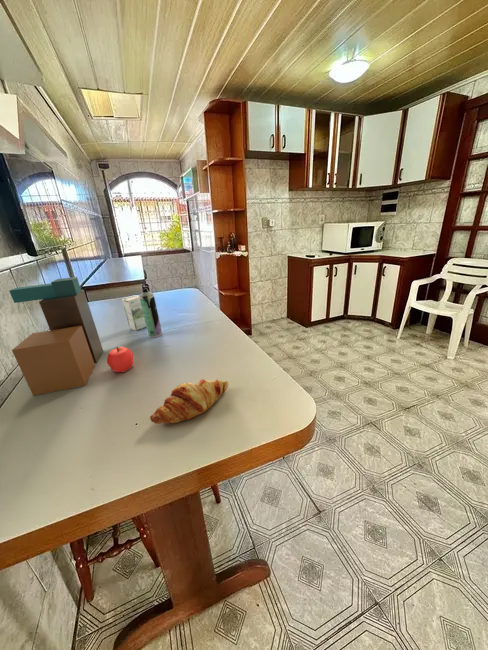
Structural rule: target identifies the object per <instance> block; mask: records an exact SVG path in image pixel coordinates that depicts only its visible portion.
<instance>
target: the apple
mask: <svg viewBox="0 0 488 650" xmlns="http://www.w3.org/2000/svg"><path fill="white" fill-rule="evenodd" d="M134 359H135V358H134V353H133V351H132V350H131V349H130V348H128V347H125V346H120V347H118V346H116V348H113V349H111V350H110V351H109V352H108V354H107V357H106V364H107V365H108V366H109V368H110V369H111V371H113V372H115V373H126V372H127V371H129V370H130V369H131V368H133V366H134V364H135V361H134Z"/></svg>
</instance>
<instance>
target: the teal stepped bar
mask: <svg viewBox="0 0 488 650" xmlns="http://www.w3.org/2000/svg"><path fill="white" fill-rule="evenodd" d="M81 290H82V288H81V285H80V282H79V279H78V277H77V276H72V277H71V276H70V277H64V278H63V277H62V278H57V279H54V280H53V281H51V282H49V283H43V284H41V283H40V284H35V285H26V286H25V285H24V286H19V287H14V288H12V289H9V290H8V292H9V294H10V296H11V299H12V301H13V303H14V304H18V303H25V302H33V301H41V300H43V299H48V298H55V297H56V298H58V297H65V296H73V295H77V294H79V293H80V292H81Z"/></svg>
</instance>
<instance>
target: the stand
mask: <svg viewBox="0 0 488 650" xmlns="http://www.w3.org/2000/svg"><path fill="white" fill-rule="evenodd" d="M38 304H39V305H40V308H41V311H42V314H43V317H44V318H45V321H46V323H47V326H48V329H49V331H51V330H57V329H63V328H70V327H76V326H82V329H83V331H84V334H85V337H86V340H87V343H88V346H89V349H90V352H91V355H92V358H93V361H94V364H95V365H96V364H97V363H98V362H99V360H100V358H101V356H102V354H103V352H104V348H103V346H102V345H103V344H102V343H101V339H100V336H99V333H98V330H97V327H96V326H97V325H96V324H95V319H94V317H93V315H92V314H93V313H92V311H91V308H90V304H89V301H88V299H87V294H86V292H85V289H81V292H80V293H79V294H77V295H73V296H65V297H58V298H56V297H55V298H48V299H41V300H38Z"/></svg>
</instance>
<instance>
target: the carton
mask: <svg viewBox="0 0 488 650" xmlns="http://www.w3.org/2000/svg"><path fill="white" fill-rule="evenodd" d="M11 352H12V354H13V356H14V358H15V361H16V363H17V365H18V368H20V371H21V373H22V375H23V377H24V378H23V379H24V380H25V382H26V384H27V387H28V388H29V390H30V392H31V395H32V396H33V397H35V396H37V395H38V396H39V395H44V394H48V393H49V394H50V393H54V392H60V391H64V390H70V389H73V388H80V387H84V386H86V385H87V382H88V381H89V380H90V377H91V375H92V374H93V371H94V369H95V368H96V363H95V364H94V361H93V358H92V355H91V352H90V349H89V346H88V343H87V340H86V337H85V334H84V331H83V329H82V326H76V327H70V328H63V329H57V330H51V331H50V330H46V331H45V330H44V331H38V332H32V333H31V334H30V335H29V336H27V337H26V338H25V339H24V340H22V341H21V342H20V343H19V344H17V345H16V346H15V347H13V348H12V349H11Z"/></svg>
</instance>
